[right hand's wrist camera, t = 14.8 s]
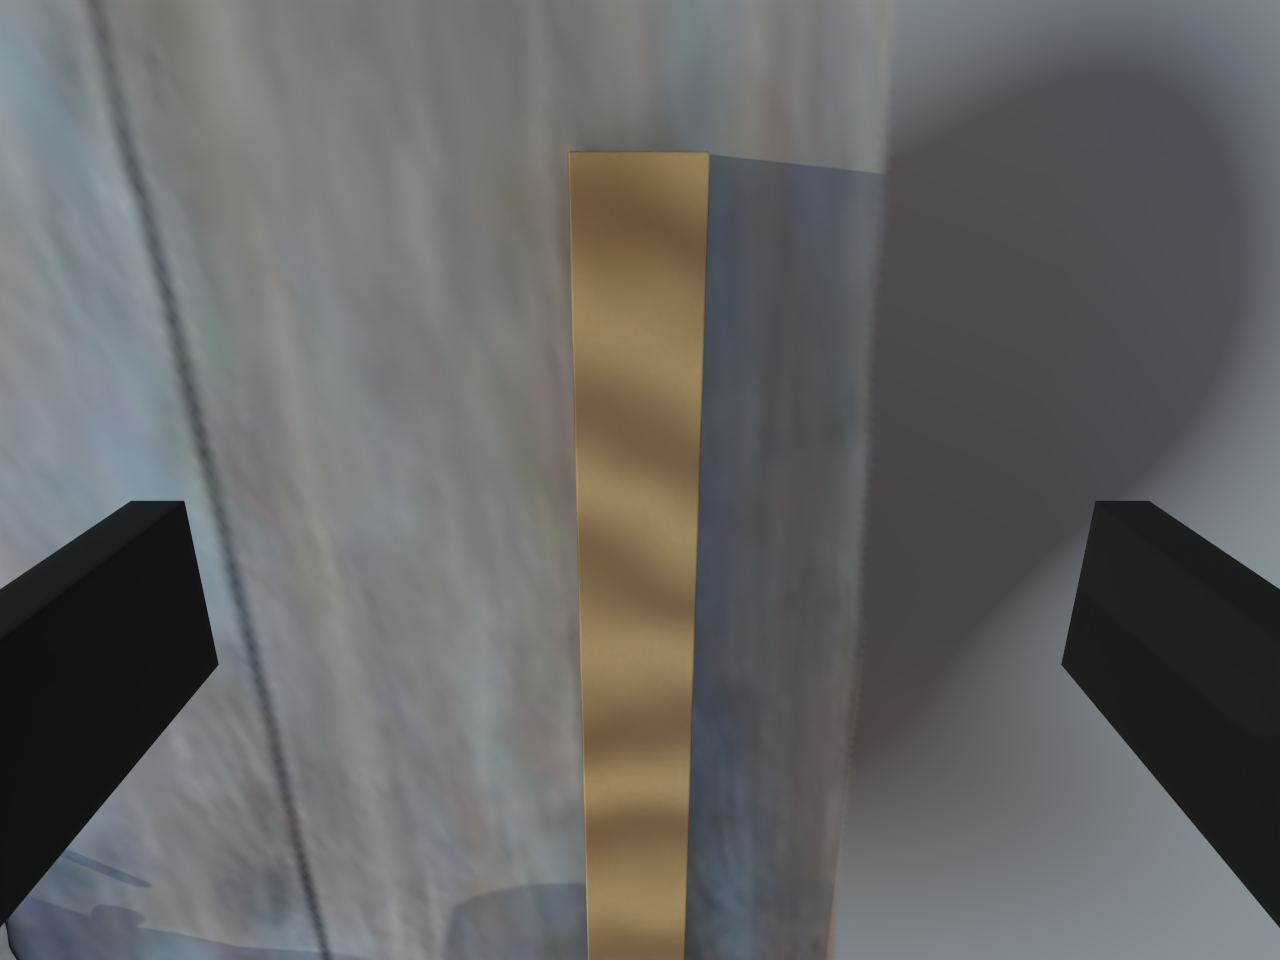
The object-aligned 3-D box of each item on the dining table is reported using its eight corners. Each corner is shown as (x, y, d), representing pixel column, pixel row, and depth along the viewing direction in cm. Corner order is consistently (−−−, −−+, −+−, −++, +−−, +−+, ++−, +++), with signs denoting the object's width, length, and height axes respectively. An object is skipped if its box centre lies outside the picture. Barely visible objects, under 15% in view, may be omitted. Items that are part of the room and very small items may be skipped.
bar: (581, 152, 36) (567, 150, 29) (696, 152, 36) (710, 151, 29) (602, 1234, 63) (597, 1369, 56) (668, 1234, 63) (671, 1369, 56)
